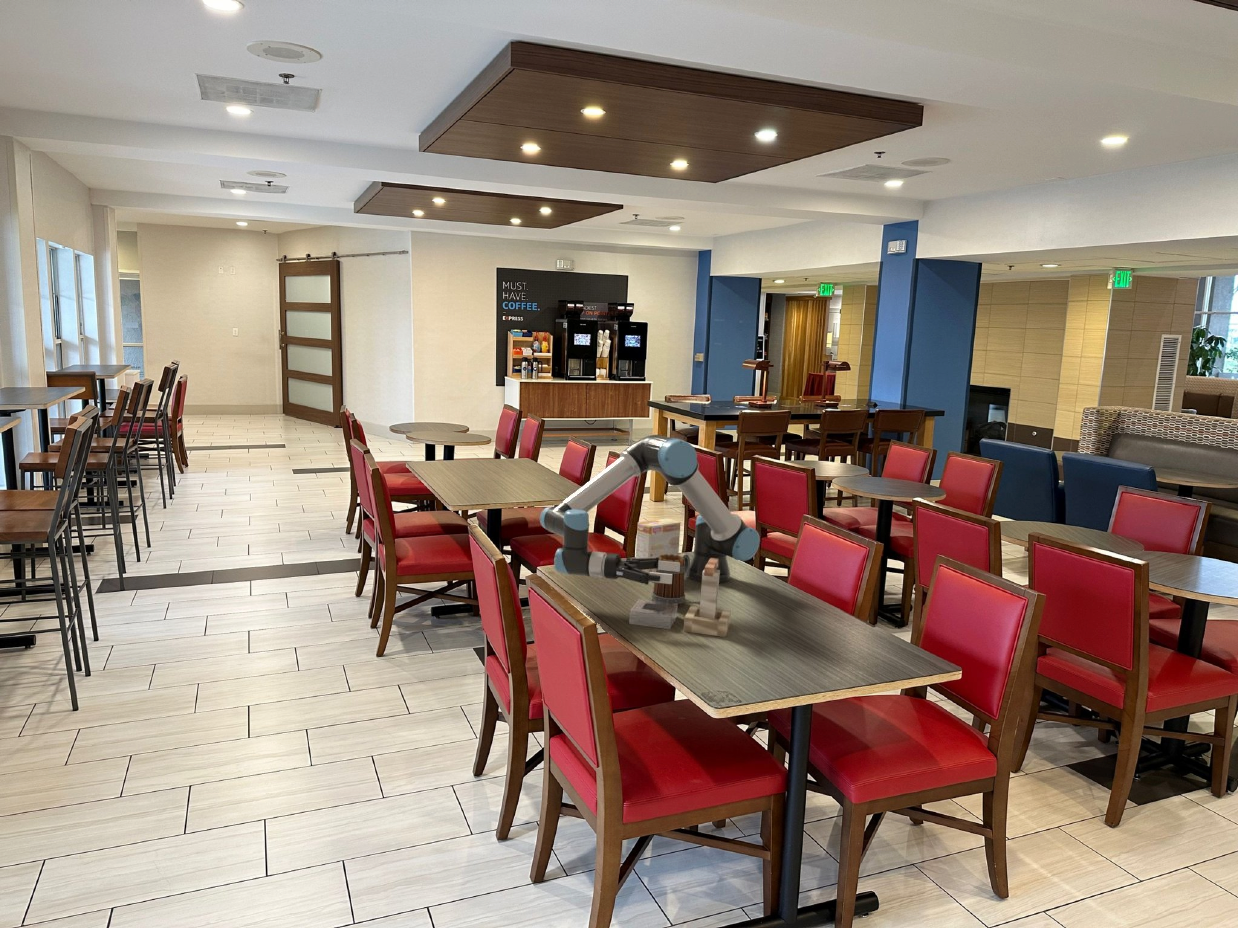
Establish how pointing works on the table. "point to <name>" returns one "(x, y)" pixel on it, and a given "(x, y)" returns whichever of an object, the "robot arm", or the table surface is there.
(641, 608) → the plate
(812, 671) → the table surface
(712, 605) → the t-key
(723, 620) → the block
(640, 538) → the coffeecake box
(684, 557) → the mug
